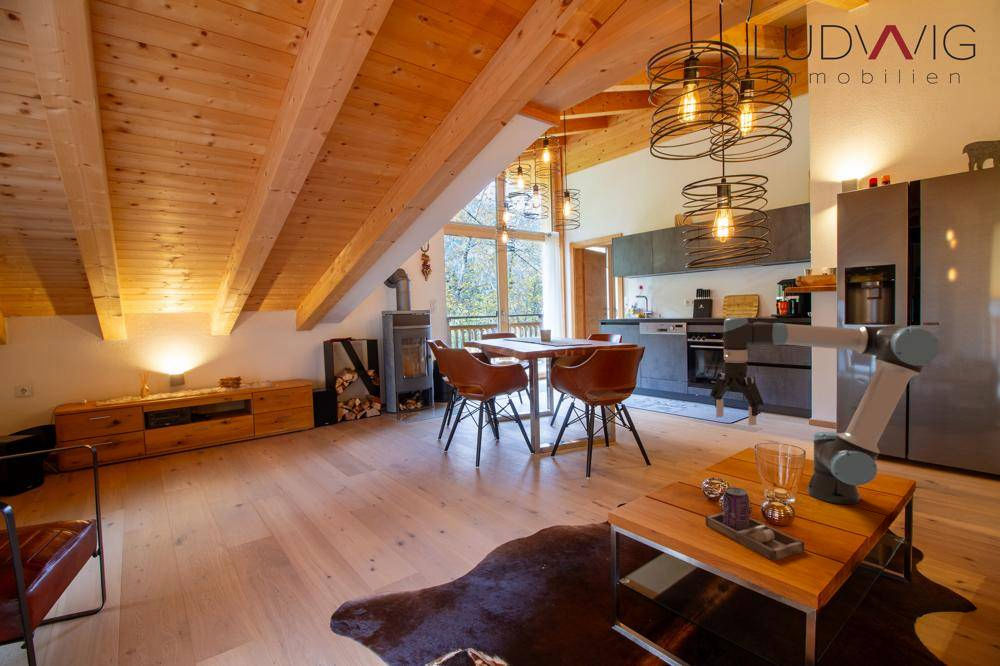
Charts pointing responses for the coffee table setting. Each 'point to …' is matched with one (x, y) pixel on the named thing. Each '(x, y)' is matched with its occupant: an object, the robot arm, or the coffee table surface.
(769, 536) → the grey oblong lump
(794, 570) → the coffee table surface
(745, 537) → the tray
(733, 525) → the beverage can
